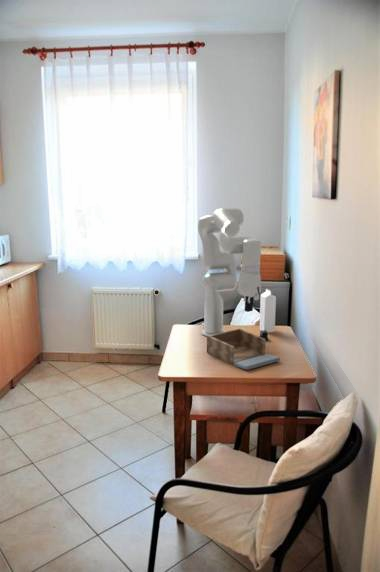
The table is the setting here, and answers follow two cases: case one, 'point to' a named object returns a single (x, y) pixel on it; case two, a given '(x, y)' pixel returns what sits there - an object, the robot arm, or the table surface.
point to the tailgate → (256, 361)
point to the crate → (235, 345)
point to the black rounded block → (264, 335)
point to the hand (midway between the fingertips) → (248, 310)
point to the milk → (267, 311)
